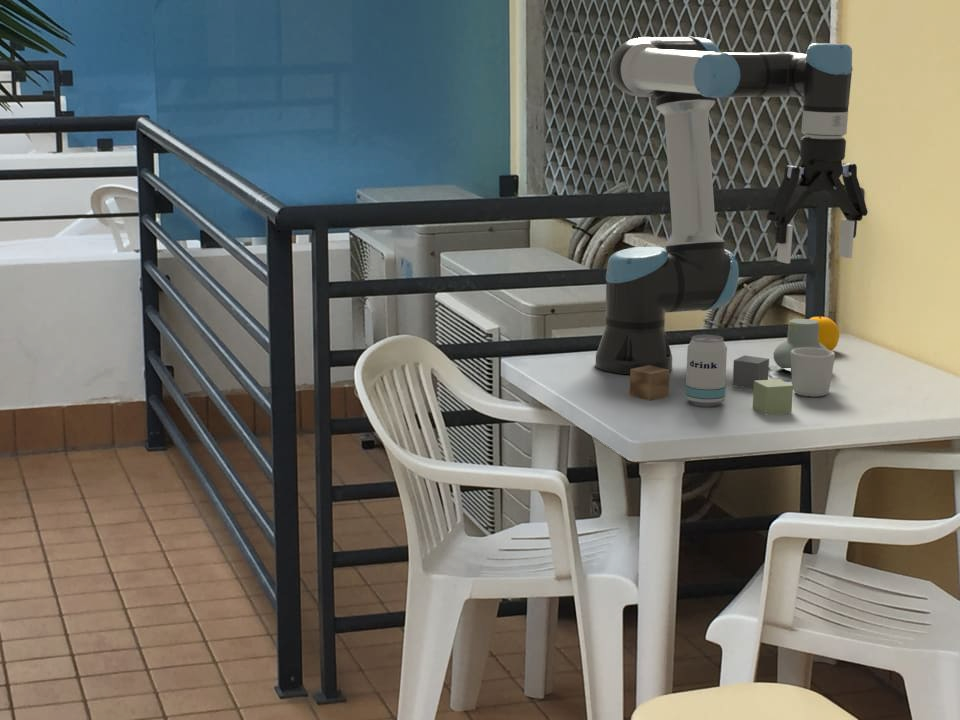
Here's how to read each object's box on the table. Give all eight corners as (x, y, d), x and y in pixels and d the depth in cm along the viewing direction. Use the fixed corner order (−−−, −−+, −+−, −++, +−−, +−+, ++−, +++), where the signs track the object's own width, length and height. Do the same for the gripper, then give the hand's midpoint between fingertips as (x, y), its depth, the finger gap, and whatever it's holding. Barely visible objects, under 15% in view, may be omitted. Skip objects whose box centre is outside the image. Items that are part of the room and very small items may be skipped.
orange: (817, 357, 302) (819, 321, 300) (791, 349, 308) (793, 314, 307) (846, 353, 306) (848, 317, 304) (819, 345, 312) (822, 311, 311)
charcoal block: (732, 386, 277) (733, 360, 276) (743, 380, 281) (744, 355, 280) (757, 389, 274) (758, 363, 273) (767, 384, 279) (769, 358, 277)
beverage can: (681, 405, 262) (684, 340, 259) (690, 397, 268) (692, 332, 266) (719, 409, 260) (722, 343, 257) (727, 400, 266) (730, 335, 263)
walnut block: (629, 395, 269) (630, 369, 268) (648, 391, 273) (648, 365, 271) (650, 400, 266) (651, 374, 265) (668, 396, 269) (669, 369, 268)
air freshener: (787, 377, 284) (790, 327, 281) (765, 368, 291) (768, 319, 289) (836, 373, 287) (839, 323, 285) (814, 364, 295) (816, 315, 293)
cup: (807, 384, 279) (810, 342, 277) (846, 390, 274) (849, 348, 272) (780, 394, 271) (782, 352, 269) (820, 401, 266) (822, 358, 264)
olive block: (752, 408, 261) (754, 380, 260) (777, 406, 263) (779, 379, 261) (765, 415, 257) (767, 387, 255) (791, 413, 258) (793, 385, 257)
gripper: (779, 140, 241) (770, 268, 246) (894, 136, 252) (884, 258, 258) (751, 136, 248) (743, 260, 253) (864, 132, 259) (855, 251, 264)
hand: (814, 259), depth 255 cm, fingers open, 13 cm apart
